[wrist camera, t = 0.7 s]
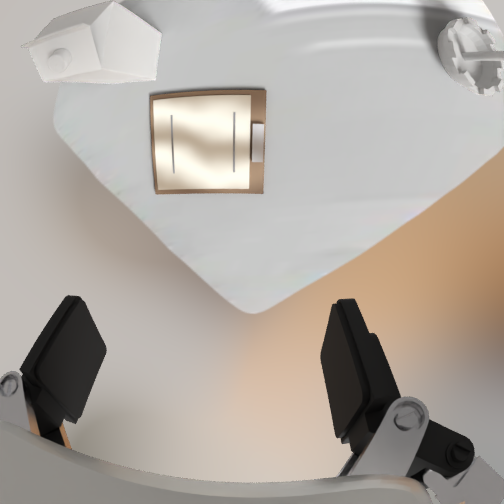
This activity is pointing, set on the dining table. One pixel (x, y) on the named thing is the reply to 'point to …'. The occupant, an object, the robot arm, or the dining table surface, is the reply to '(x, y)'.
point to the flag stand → (471, 56)
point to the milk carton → (97, 47)
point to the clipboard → (208, 141)
